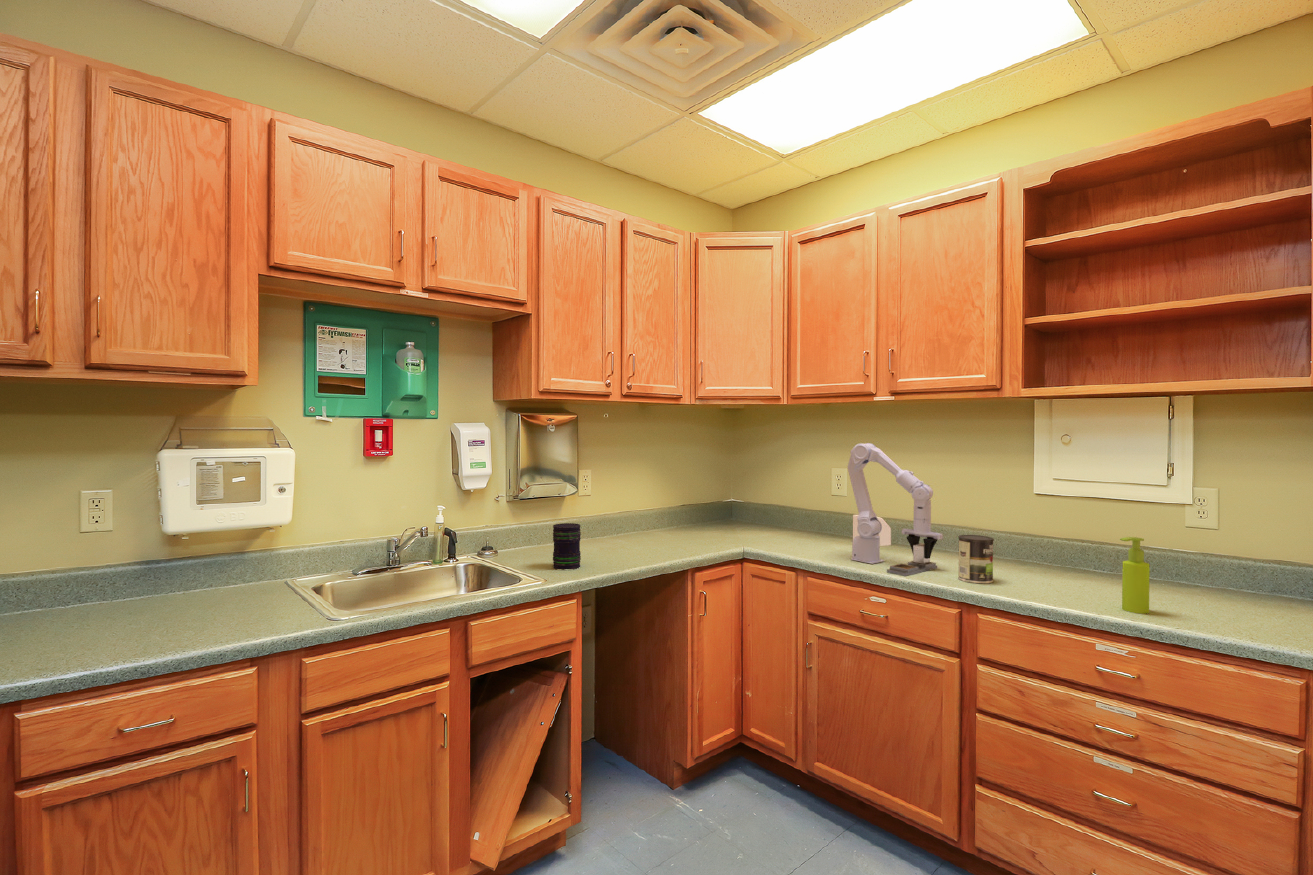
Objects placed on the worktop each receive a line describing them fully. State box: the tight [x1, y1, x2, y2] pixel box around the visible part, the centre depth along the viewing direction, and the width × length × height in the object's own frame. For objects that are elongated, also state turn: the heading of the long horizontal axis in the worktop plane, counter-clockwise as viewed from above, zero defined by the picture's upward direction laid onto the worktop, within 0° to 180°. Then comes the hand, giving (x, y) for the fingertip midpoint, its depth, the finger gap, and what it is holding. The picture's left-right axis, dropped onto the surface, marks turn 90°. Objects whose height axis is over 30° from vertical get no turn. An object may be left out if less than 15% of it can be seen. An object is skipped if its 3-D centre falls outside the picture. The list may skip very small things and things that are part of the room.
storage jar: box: [552, 522, 582, 570], centre depth 224 cm, size 10×10×15 cm
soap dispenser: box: [1119, 536, 1151, 615], centre depth 171 cm, size 6×7×20 cm
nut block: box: [912, 542, 931, 564], centre depth 223 cm, size 4×4×6 cm
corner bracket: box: [852, 514, 892, 547], centre depth 270 cm, size 11×11×12 cm
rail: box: [886, 560, 938, 577], centre depth 219 cm, size 7×20×2 cm, turn 127°
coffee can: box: [958, 534, 995, 585], centre depth 206 cm, size 10×10×14 cm
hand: (921, 557), depth 223 cm, fingers closed on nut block, 4 cm apart
